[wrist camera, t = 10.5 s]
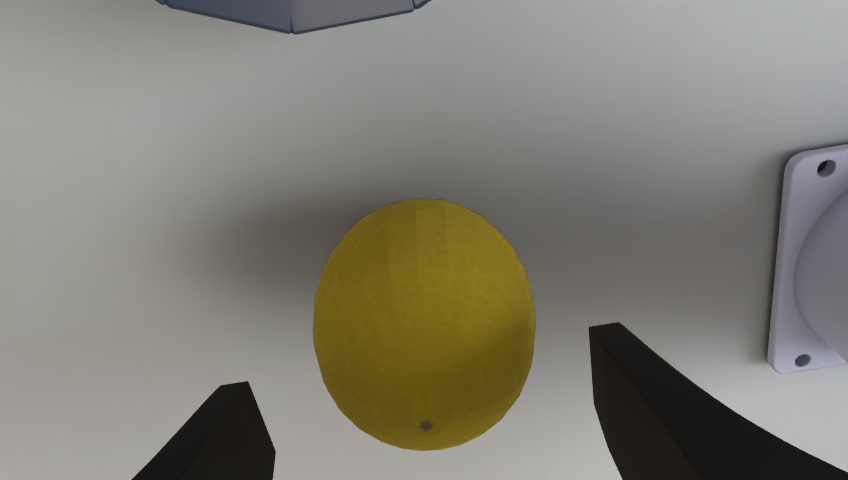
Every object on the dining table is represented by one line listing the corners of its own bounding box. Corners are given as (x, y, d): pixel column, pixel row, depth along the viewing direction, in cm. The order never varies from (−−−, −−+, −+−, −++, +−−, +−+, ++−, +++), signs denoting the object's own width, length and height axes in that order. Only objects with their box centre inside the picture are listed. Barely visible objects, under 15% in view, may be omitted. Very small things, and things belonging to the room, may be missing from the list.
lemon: (332, 154, 18) (278, 300, 10) (519, 164, 18) (592, 312, 11) (333, 313, 20) (290, 520, 13) (499, 320, 20) (547, 527, 13)
